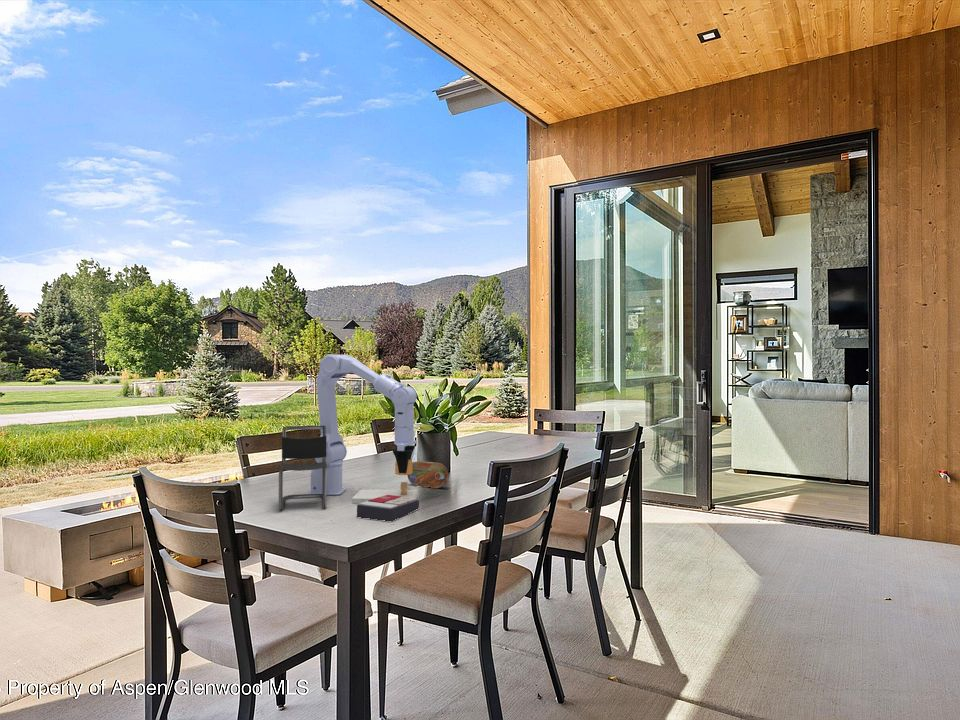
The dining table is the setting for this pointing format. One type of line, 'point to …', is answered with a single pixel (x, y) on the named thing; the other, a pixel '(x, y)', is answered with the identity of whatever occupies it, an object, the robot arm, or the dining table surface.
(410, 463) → the wooden cylinder block
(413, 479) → the tin
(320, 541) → the dining table surface
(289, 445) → the chair
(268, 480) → the dining table surface
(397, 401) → the robot arm
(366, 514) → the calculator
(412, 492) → the junction board
